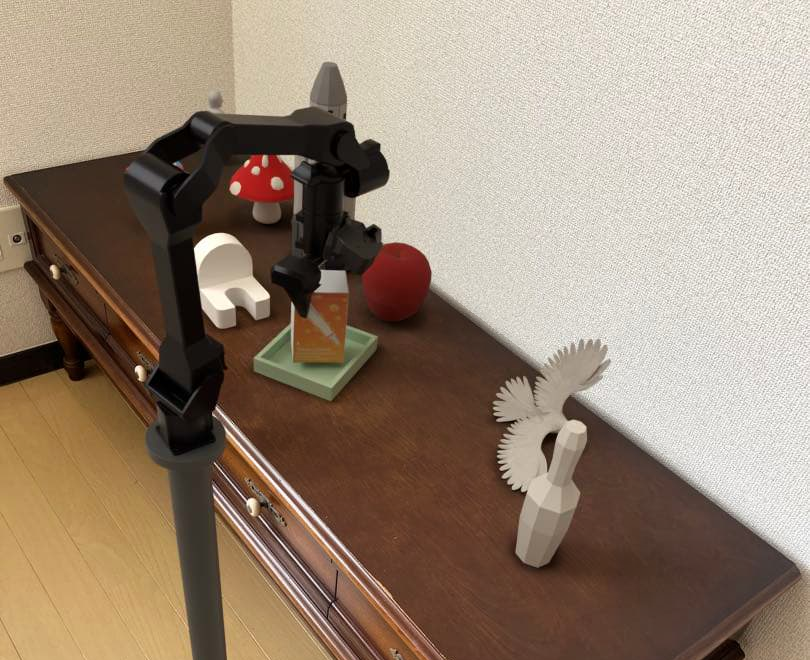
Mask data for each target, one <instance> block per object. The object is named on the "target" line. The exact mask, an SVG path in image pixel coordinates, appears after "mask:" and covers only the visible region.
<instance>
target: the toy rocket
mask: <svg viewBox="0 0 810 660" xmlns="http://www.w3.org/2000/svg"><path fill="white" fill-rule="evenodd" d="M313 106H316V107H319V108H321V109H323V110H325V111H327V112H329V113H331V114H334V115H336V116H338V117H340V118H342V119H344V120H346V121H347V113H348V112H347V111H348V95H347V90H346V86H345V83H344V79H343V76H342V75H341V71H340V69H339V66H338V63H336V62H332V61H323V62H322V63H321V66H320V68H319V70H318V72H317V75H316V77H315V79H314V82H313V85H312V87H311V90H310V93H309V107H313ZM302 161H306V162H307V163H309V164H310V163H313V162H316V161H314V160H311V159H308V158H305V157H302V156H298V155H294V168H293V170H294V169H295V168H297V167H298V166H299V165H300V164H301V162H302ZM356 204H357V197H356V198H348V197H346V196H345V195H344V211H346V212H349V216H350V217H351V218H350V219H353V220H356ZM300 210H302V184H301V183H299V182H297V181H295V180H294V198H293V214H292V216H291V219H290V223H291V255H292V256H295V257H298V258H301V259H302V258H304V257H305V256H306V254H305V253H304V252H303V250H301V249H299V248H296V247H295V241H296V240H297V239H298V238H300V237H301V226H302V223H301V222H298V221H296V213H298V212H299V211H300ZM319 269H320V270H325V265H324V264H322V265H321V266H320V267H319ZM344 271H346V272H352V271H351V269H349V268H348V267H347V266H346V267H345V270H344Z"/></svg>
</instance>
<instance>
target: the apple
mask: <svg viewBox="0 0 810 660" xmlns="http://www.w3.org/2000/svg"><path fill="white" fill-rule="evenodd" d="M382 248H383V249H382V251H380V252H379V253H378V255H377V257H376V259H375V261H374V263H373V265H372V266H371V267H369V268H368V269H367V270H366V271H365V273H364V274H362V275H361V278H362V282H361V283H362V290H363V293H364V297H365V300H366V305H367V306H368V308H369V310H370V312H371V313H372V314H374V315H375V316H376V317H377V318H378V319H380V320H381V321H384V322H388V323H395V322H399V321H400V322H401V321H402V320H405V319H407V318H410V317H412V316H414V315H415V314H416V313H417V312H418V311H419V309H420V308H421V306H422V305H423V303H424V302H425V299H426V298H427V296H428V295H429V290H430V286H431V281H432V273H433V271H432V268H431V265H430V261H429V260H428V258H427V256H426V255H425V254H424V253H423V252H422V251H421V250H419V249H418V248H416V247H415V246H413V245H411V244H408V243H406V242H397V241H394V242H387V243H383V244H382Z"/></svg>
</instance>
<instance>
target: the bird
mask: <svg viewBox="0 0 810 660" xmlns="http://www.w3.org/2000/svg"><path fill="white" fill-rule="evenodd" d="M601 346H602V347H601ZM569 347H570V348H569V350H568V347H567V346H566V345H564V346H563V351H562V349H560V348H557V354H556V353H553V355H552V356H553V359H552V358H551V357H547V361H548V363H549V364H548V363H547V362H543V367H544V368H545V369H542V368H541V369H539V371H540V373H541V374H542V375H543V377H544V378H543V377H540V376H535V379H536V380H537V381H535V382H534V384H535V387H534V388H535V389H534V390H533V391H532V388H531V386H530V383H529V381H528V378H527V377H526V375H523V379H521V378H520V377H519V376H516V377H515V379H516V380H515V379H514V378H510V381H508V380H506V381H505V386H506V387H507V389H508V390H507V389H506V388H505V387H503V386H500V388H499V389H500V391H501V392H497V393H495V395H496V396H497V398H499V399H501V400H494V401H493V402H492V404H493V405H495V406H493V407H492V410H494V411H497V412H494V413H493V416H496V417H499V418H497V419H496V421H495V422H499V423H501V422H510V421H514V423H511V424H510V426H511V427H506V429H507V431H508V432H510V433H511V434H508V433H503V434H502V435H503V437H504V438H502V439H499V442H500V443H503V444H498V445H497V447H498V448H500V449H501V450H497V453H498V454H497V455H496V458H498V459H499V461H497V464H501V465H502V466H500V467H499V471H501V472H502V471H505V473H503V474H502V476H501V479H508V480H507V481H506V483H507V485H512V487H511V490H512V491H516V490H518V489H520V492H522V493H524V492H527V491H528V489H529V486H530V483H531V481H532V479H534V478H537V477H539V476H541V475H543V474H546V473H548V464H547V463H548V462H547V458H546V457H545V454H544V453H543V451H542V444H543V441H544V439H545V438H546V436H547V435H548V434H558V433H559V432H560V430H561V429H562V428H563V427H564V425H565V424H566V423H567V422H568V421H569V420H568V419H567V418H566V416H565V415H564V413H563V407H564V404H565V402H566V401H567V399H568V398H569V397H570V396H571V395H572V394H574V393H577V392H583V391H586V390H588V389H590V388H593V387H594V386H595V385H597V384H598V383H599V382H601V380H603V378H604V375H603V374H602V373H604V372H605V371H606V370H607V369H608V368H609V366H610V365H611V363H612V359H611V358H608V359H606V360H605V358H606V355H607V353H608V350H609V349H608V345H607V344H604V345H602V342H601V339H600V338H597V339H596V340H595V341H594V343H593V339H592V338H589V339H588V340H587V342H586V344H585V340H584V338H580V339H579V342H578V345H577V349H576V345H575V343H574V342H571V343H570V346H569ZM604 360H605V361H604ZM522 380H523V381H522ZM533 393H535V394H533ZM505 438H506V439H505ZM503 464H504V465H503ZM506 470H507V471H506Z"/></svg>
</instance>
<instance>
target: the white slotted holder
mask: <svg viewBox="0 0 810 660" xmlns="http://www.w3.org/2000/svg"><path fill="white" fill-rule="evenodd" d="M194 252H195V260H196V267H197V275H198V282H199V289H200V297H201V304H202V311H203V312H204V313H205V314H206V316H207V317H208V318H209V319H210V320H211V322H212V324H214V325H215V326H216V328H218V329H222V330H223V329H224V330H226V329H229V328H232V327H236V326H237V314H236V313H237V311H236V307H242V308H244V309H245V310H246V311H247V312H248V313H249V314H250V315H251V316H252V317H253V319H254V320H255V321H259V320H263V319H266V318H269V317H270V315H271V295H270V294H269V292H268V291H267V290H266V289H265V287H263V286H262V284H260V282H259V281H258V280H257V279H256V277H254V272H253V270H254V269H253V259H252V256H251V254H250V252H249V250H248V249H247V248H245V246H244V245H243V244H242V243H241V241H240V240H238V239H237V238H236V236H233V235H232V234H229V233H225V232H217V233H213V234H210V235H207V236H206V237H204V238H202V239H201V240H200V241H199V242H198V243H197V244H196V245H195V246H194Z"/></svg>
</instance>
